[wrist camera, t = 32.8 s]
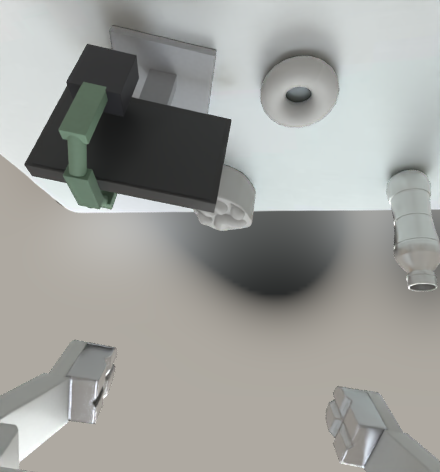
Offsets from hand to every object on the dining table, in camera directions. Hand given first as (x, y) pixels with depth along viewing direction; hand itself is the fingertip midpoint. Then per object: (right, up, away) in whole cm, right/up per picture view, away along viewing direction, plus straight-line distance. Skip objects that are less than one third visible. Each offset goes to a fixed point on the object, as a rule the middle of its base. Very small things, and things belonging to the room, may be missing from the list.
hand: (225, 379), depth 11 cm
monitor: (-8, +28, +30) cm, 42 cm away
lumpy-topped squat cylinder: (+1, +16, +52) cm, 54 cm away
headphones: (-12, +22, +27) cm, 37 cm away
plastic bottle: (+32, +16, +42) cm, 55 cm away
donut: (+10, +25, +30) cm, 41 cm away
